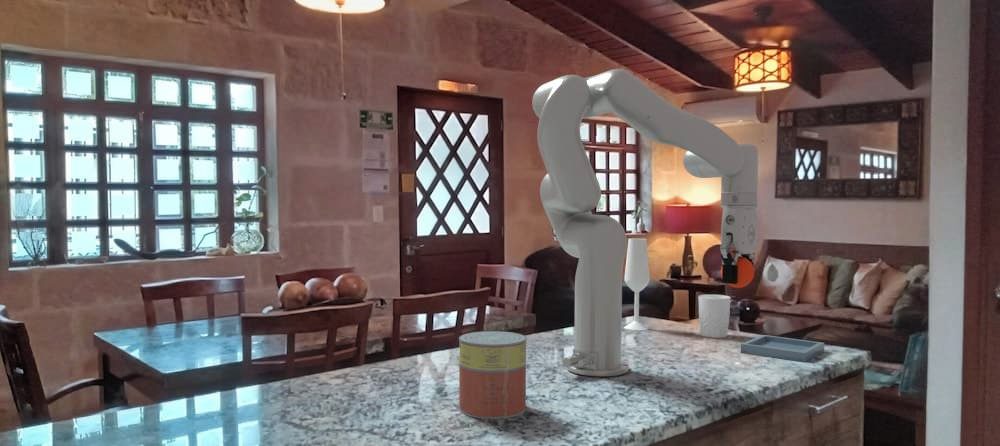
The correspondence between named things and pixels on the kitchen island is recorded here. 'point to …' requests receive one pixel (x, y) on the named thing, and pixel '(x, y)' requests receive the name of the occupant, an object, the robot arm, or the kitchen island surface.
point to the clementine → (743, 272)
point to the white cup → (714, 315)
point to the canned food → (492, 374)
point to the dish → (783, 348)
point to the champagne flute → (637, 275)
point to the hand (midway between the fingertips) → (738, 281)
